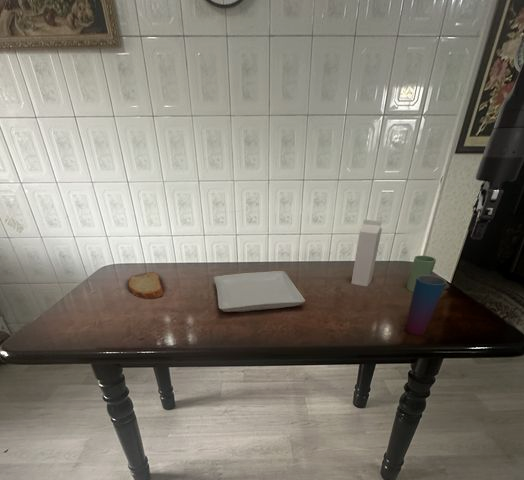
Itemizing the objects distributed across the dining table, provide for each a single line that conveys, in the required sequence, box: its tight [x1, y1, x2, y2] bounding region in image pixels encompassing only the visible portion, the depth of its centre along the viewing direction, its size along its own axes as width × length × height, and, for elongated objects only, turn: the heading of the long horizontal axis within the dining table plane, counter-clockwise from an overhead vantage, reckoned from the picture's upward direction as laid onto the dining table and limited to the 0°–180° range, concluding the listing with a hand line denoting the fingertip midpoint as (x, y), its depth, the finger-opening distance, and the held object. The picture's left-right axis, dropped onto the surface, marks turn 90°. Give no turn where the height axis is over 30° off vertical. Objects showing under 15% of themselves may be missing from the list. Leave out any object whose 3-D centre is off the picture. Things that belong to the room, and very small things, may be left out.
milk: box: [350, 219, 383, 288], centre depth 107 cm, size 6×6×22 cm
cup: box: [405, 274, 447, 336], centre depth 80 cm, size 7×7×15 cm
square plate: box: [213, 270, 306, 313], centre depth 103 cm, size 27×27×4 cm
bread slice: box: [127, 271, 164, 299], centre depth 111 cm, size 18×18×4 cm
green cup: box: [405, 255, 437, 293], centre depth 105 cm, size 7×7×11 cm
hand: (473, 234), depth 72 cm, fingers open, 8 cm apart
